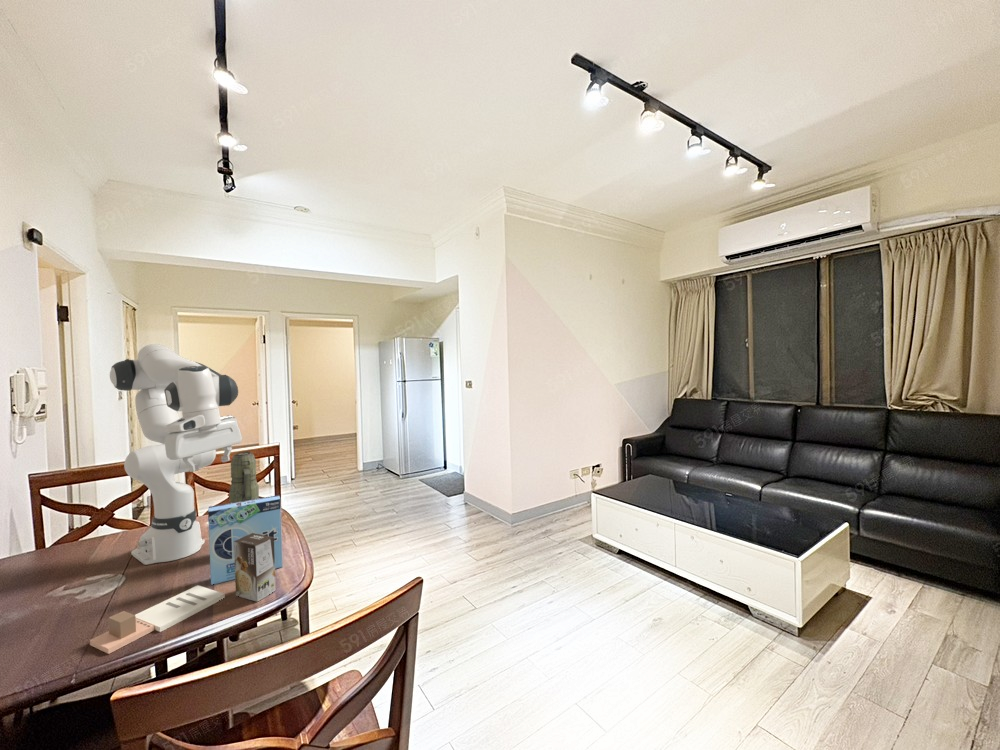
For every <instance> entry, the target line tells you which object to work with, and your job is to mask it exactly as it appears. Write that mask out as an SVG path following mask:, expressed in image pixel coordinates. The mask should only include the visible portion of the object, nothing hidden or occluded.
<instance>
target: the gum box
mask: <svg viewBox="0 0 1000 750" xmlns="http://www.w3.org/2000/svg"><path fill="white" fill-rule="evenodd" d="M281 501H282V500H281V497H280V494H276V495H271V496H267V497H259V499H253V500H247V501H241V502H235V503H230V502H229V503H226V504H225V503H223V504H219V505H218V504H217V505H211V506H208V508H207V511H208V512H207V514H208V515H207V517H208V520H207V521H208V542H209V543H208V544H209V567H210V568H209V569H210V571H209V572H210V585H211V586H213V584H214V585H217V584H220V583H224V582H229V581H233V580H235V557H234V541H236V540H238V539H240V538H242V537H244V536H247V535H249V534H252V533H255V534H260V535H265V536H270V537H274V554H275V570H276V569H280V568H283V567H284V565H283V540H282V539H283V538H282V506H281V505H282V504H281Z"/></svg>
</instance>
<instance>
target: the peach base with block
mask: <svg viewBox="0 0 1000 750" xmlns="http://www.w3.org/2000/svg"><path fill="white" fill-rule="evenodd" d="M135 615H136V614H134V613H131V612H128V611H125V610H123V611H120V612H118V613H116V614H114V615H111V616H109V617H108V631H106V632H103V633H102V634H100V635H97V636H95V637H93V638H91V639H89V646H91V647H94V648H95V649H98V650H99V651H101V652H104V653H105V654H108V655H109V654H112V653H113V652H116V651H117V650H119V649H122V648H123V647H124V646H127V645H129V644H131V643H133V642H135V641H137V640H139V639H140V638H143V637H144V636H146V635H148V634H150V633H151V632H154V631H155V630H154V626H153V625H151V624H148V623H146V622H143V621H141V620H139V619H136V617H135Z"/></svg>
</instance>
